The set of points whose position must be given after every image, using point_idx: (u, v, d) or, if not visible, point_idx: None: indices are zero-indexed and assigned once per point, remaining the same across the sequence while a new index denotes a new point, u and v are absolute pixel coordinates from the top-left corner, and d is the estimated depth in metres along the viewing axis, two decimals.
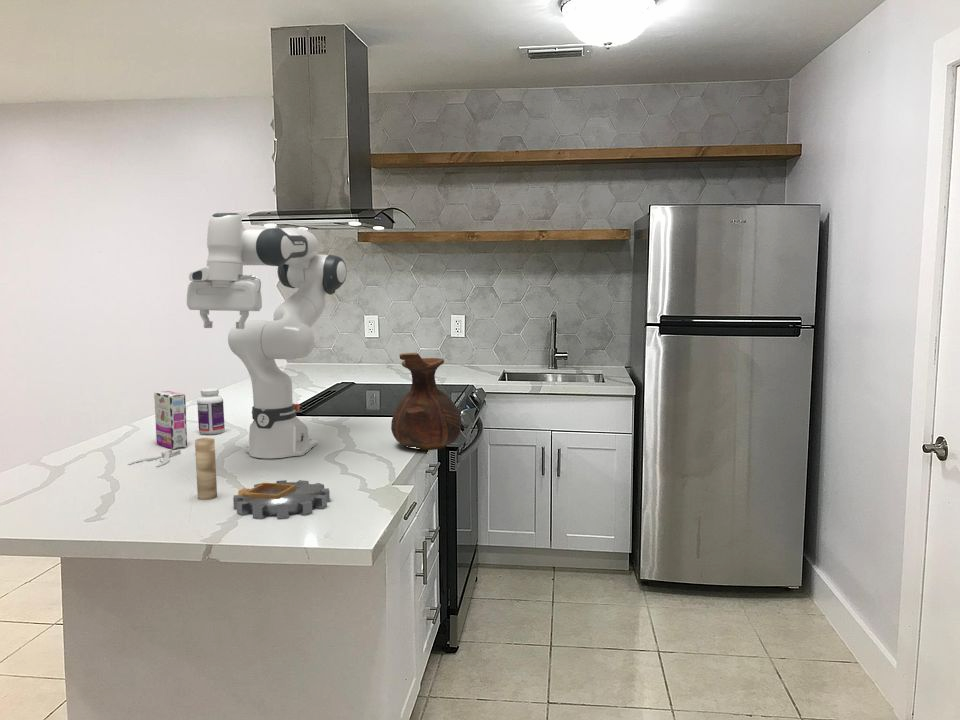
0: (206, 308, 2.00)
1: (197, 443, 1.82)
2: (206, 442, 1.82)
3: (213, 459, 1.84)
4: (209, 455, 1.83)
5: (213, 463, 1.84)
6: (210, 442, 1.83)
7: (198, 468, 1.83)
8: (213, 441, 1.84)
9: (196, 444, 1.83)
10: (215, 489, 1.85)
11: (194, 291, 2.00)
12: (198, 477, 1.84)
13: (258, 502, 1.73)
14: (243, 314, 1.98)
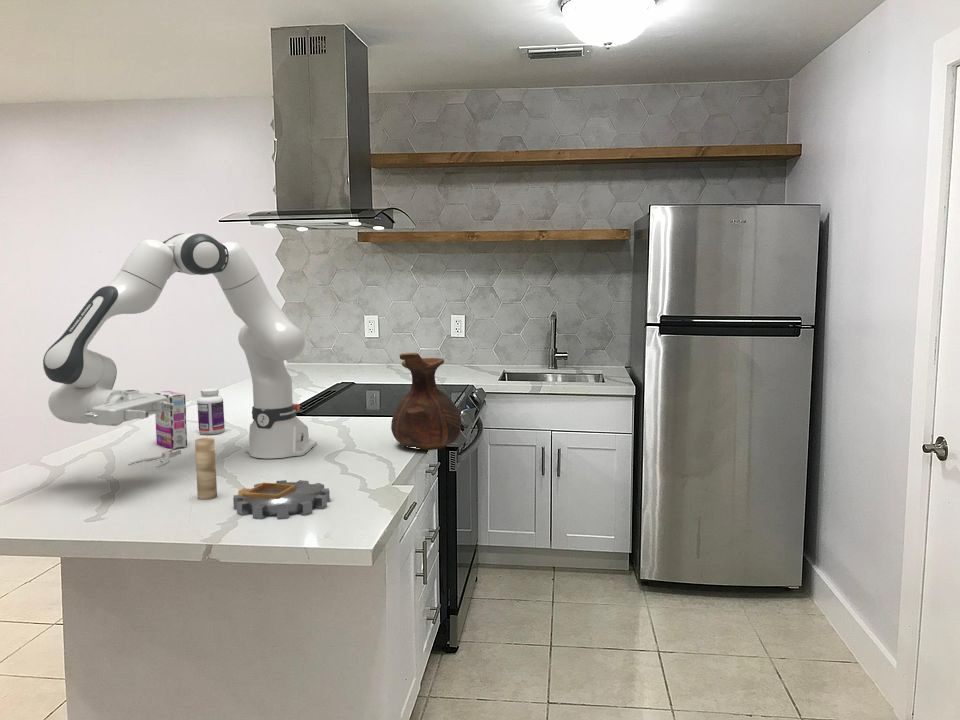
0: (153, 413, 1.92)
1: (197, 443, 1.82)
2: (206, 442, 1.82)
3: (213, 459, 1.84)
4: (209, 455, 1.83)
5: (213, 463, 1.84)
6: (210, 442, 1.83)
7: (198, 468, 1.83)
8: (213, 441, 1.84)
9: (196, 444, 1.83)
10: (215, 489, 1.85)
11: None
12: (198, 477, 1.84)
13: (258, 502, 1.73)
14: (128, 419, 1.81)
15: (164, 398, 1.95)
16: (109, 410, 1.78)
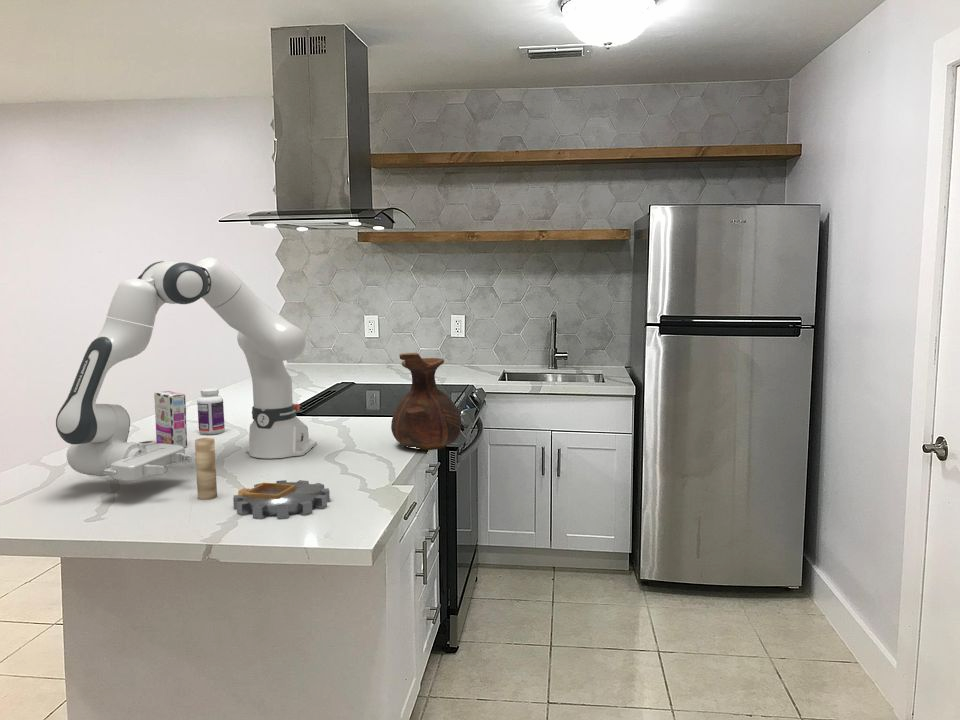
0: (171, 465, 1.93)
1: (197, 443, 1.82)
2: (206, 442, 1.82)
3: (213, 459, 1.84)
4: (209, 455, 1.83)
5: (213, 463, 1.84)
6: (210, 442, 1.83)
7: (198, 468, 1.83)
8: (213, 441, 1.84)
9: (196, 444, 1.83)
10: (215, 489, 1.85)
11: None
12: (198, 477, 1.84)
13: (258, 502, 1.73)
14: None
15: (181, 449, 1.96)
16: (128, 467, 1.79)
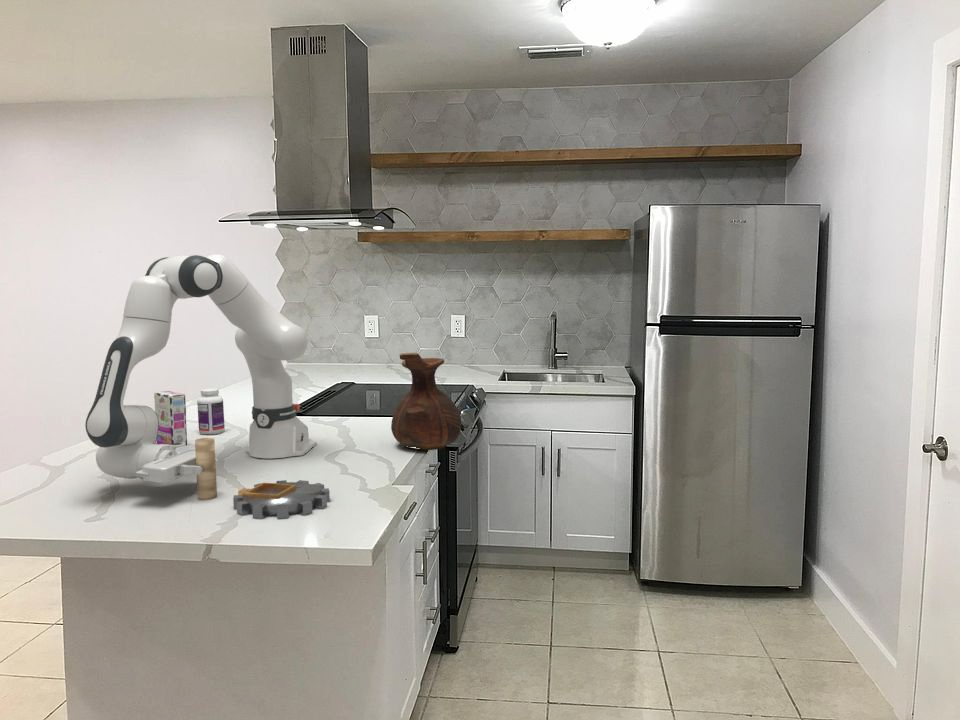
0: None
1: (197, 443, 1.82)
2: (206, 442, 1.82)
3: (213, 459, 1.84)
4: (209, 455, 1.83)
5: (213, 463, 1.84)
6: (210, 442, 1.83)
7: None
8: (213, 441, 1.84)
9: (196, 444, 1.83)
10: (215, 489, 1.85)
11: None
12: (198, 477, 1.84)
13: (258, 502, 1.73)
14: (184, 474, 1.82)
15: None
16: (160, 469, 1.77)
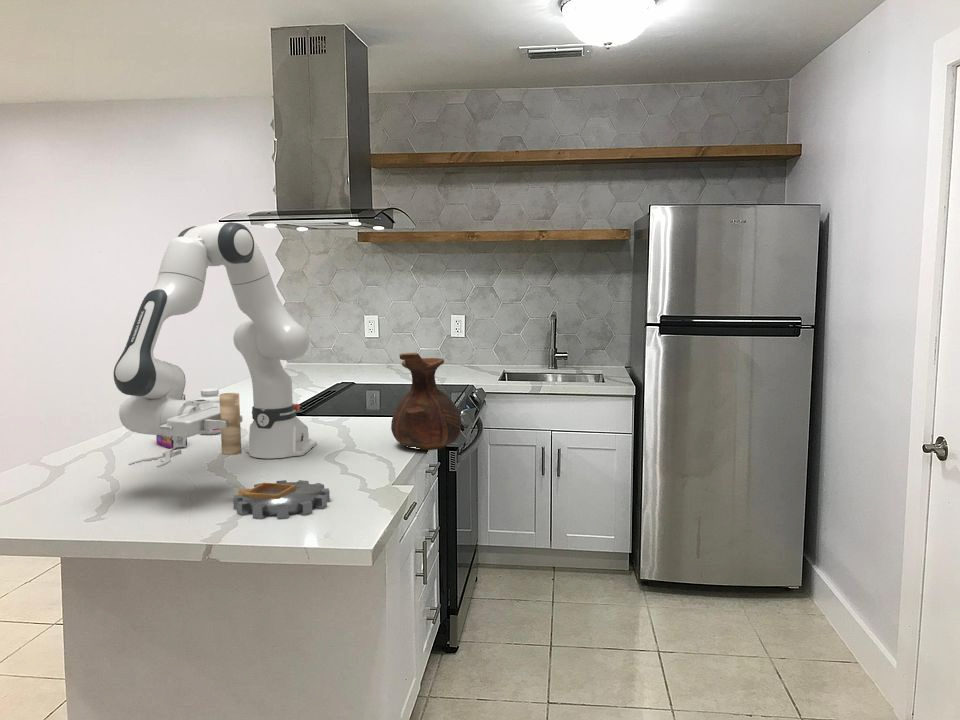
0: None
1: (222, 397, 1.79)
2: (231, 396, 1.79)
3: (238, 414, 1.81)
4: (233, 409, 1.80)
5: (238, 418, 1.81)
6: (235, 396, 1.79)
7: None
8: (238, 396, 1.81)
9: (220, 398, 1.79)
10: (240, 445, 1.82)
11: None
12: (222, 432, 1.80)
13: (258, 502, 1.73)
14: None
15: None
16: (185, 422, 1.73)
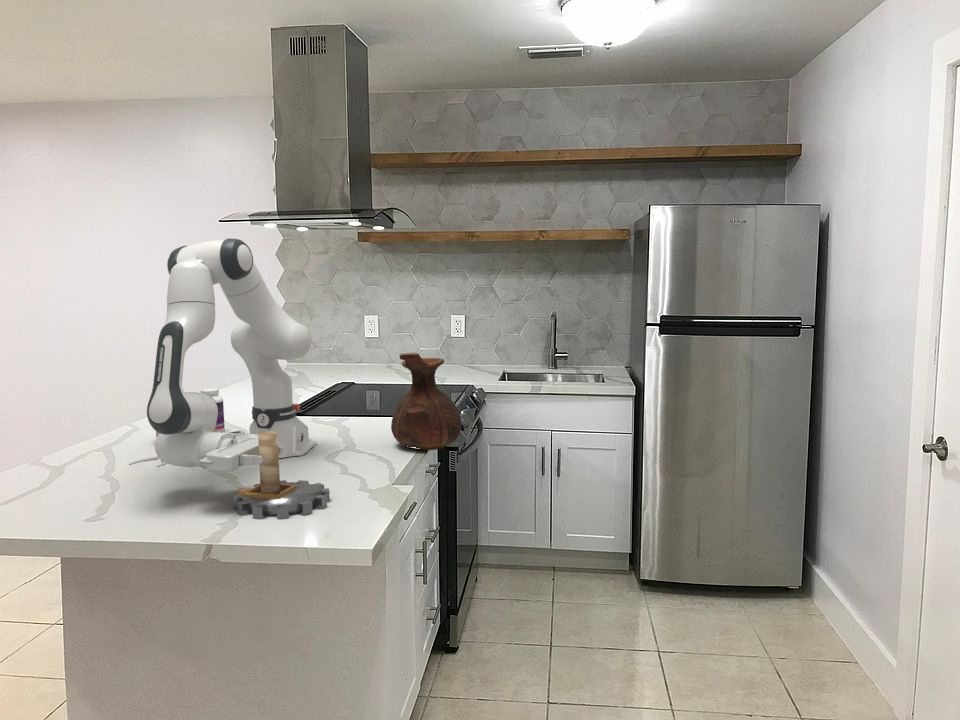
0: None
1: (261, 437, 1.77)
2: (270, 436, 1.77)
3: (277, 453, 1.79)
4: (272, 449, 1.78)
5: (277, 457, 1.79)
6: (274, 436, 1.78)
7: (261, 463, 1.78)
8: (276, 435, 1.79)
9: (260, 438, 1.78)
10: (279, 484, 1.81)
11: None
12: (262, 472, 1.79)
13: (258, 502, 1.73)
14: (244, 464, 1.75)
15: None
16: (225, 457, 1.72)
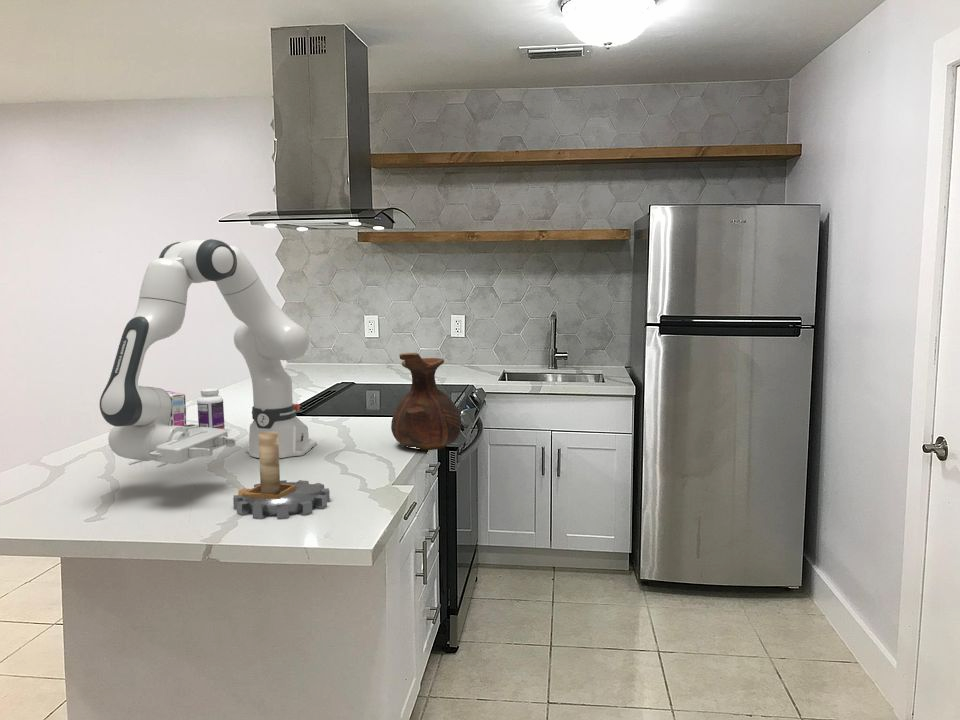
0: None
1: (261, 437, 1.78)
2: (270, 436, 1.78)
3: (277, 453, 1.79)
4: (273, 449, 1.78)
5: (277, 457, 1.79)
6: (274, 436, 1.78)
7: (261, 462, 1.79)
8: (277, 435, 1.79)
9: (260, 438, 1.78)
10: (279, 485, 1.81)
11: None
12: (262, 472, 1.79)
13: (258, 502, 1.73)
14: None
15: (224, 432, 1.92)
16: (174, 449, 1.75)
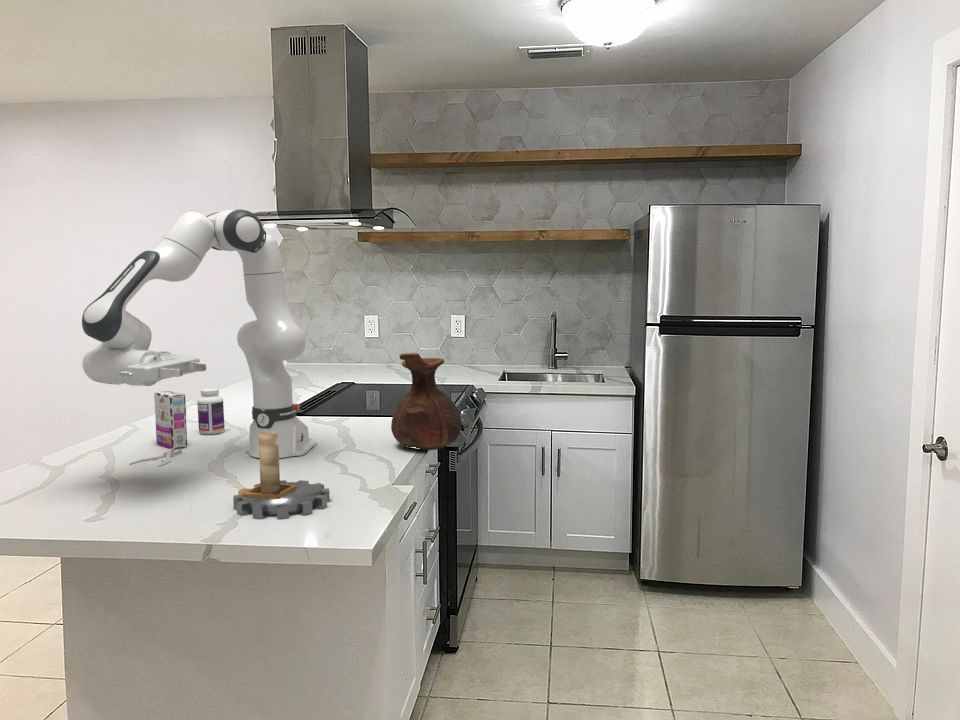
0: None
1: (261, 437, 1.78)
2: (270, 436, 1.78)
3: (277, 453, 1.79)
4: (273, 449, 1.78)
5: (277, 457, 1.80)
6: (274, 436, 1.78)
7: (261, 462, 1.79)
8: (277, 435, 1.79)
9: (260, 438, 1.78)
10: (279, 484, 1.81)
11: None
12: (262, 472, 1.79)
13: (258, 502, 1.73)
14: None
15: (196, 359, 1.96)
16: (144, 368, 1.79)
